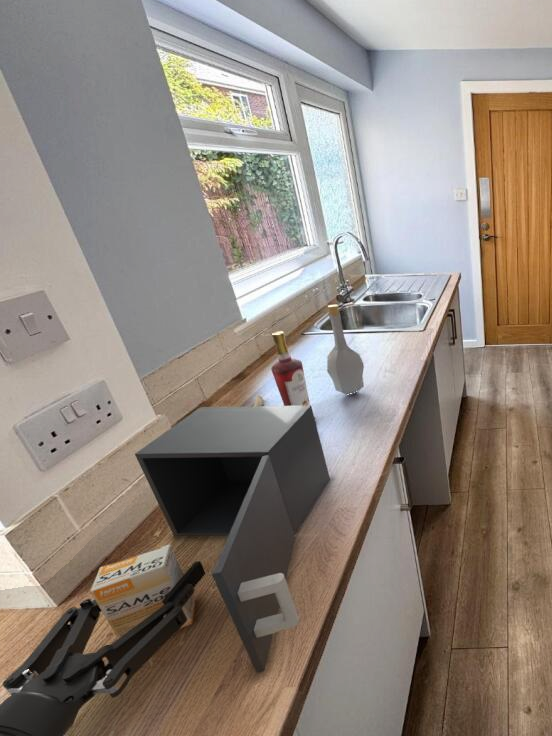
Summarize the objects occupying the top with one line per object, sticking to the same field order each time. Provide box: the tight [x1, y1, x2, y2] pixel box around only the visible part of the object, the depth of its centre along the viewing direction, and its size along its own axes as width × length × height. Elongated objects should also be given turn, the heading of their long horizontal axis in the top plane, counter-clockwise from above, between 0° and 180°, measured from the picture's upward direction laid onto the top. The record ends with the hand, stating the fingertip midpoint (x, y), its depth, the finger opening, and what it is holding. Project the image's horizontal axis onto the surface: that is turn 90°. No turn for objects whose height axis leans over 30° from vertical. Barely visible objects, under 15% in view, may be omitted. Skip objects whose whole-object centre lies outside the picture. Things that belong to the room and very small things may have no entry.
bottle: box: [326, 304, 365, 396], centre depth 125 cm, size 11×11×30 cm
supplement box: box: [89, 544, 196, 640], centre depth 60 cm, size 8×5×13 cm, turn 120°
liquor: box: [270, 331, 316, 419], centre depth 109 cm, size 7×7×28 cm
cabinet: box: [134, 404, 331, 538], centre depth 82 cm, size 16×24×20 cm, turn 89°
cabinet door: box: [211, 455, 301, 674], centre depth 64 cm, size 6×24×20 cm, turn 17°
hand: (170, 567), depth 64 cm, fingers closed on supplement box, 9 cm apart
